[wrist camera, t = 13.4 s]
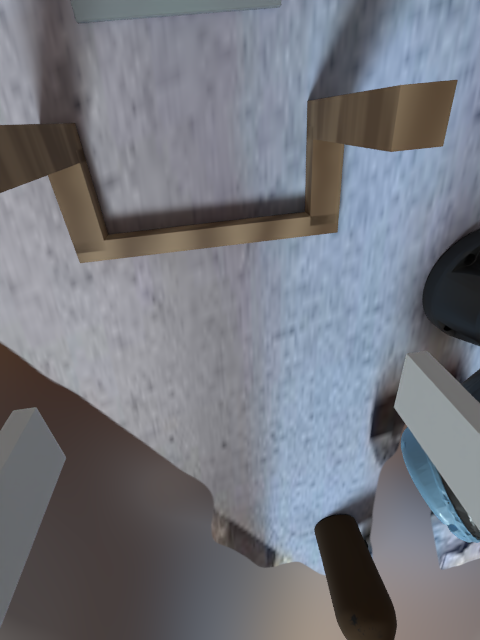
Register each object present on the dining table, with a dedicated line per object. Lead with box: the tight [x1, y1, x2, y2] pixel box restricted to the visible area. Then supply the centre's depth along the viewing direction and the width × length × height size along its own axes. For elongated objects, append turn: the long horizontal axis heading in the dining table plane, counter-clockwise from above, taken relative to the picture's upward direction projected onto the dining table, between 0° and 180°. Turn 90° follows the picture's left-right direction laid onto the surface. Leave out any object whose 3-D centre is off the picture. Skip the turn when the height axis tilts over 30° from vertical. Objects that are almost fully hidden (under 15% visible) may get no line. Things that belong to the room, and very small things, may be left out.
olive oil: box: [315, 515, 397, 640], centre depth 62 cm, size 11×11×25 cm
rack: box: [0, 80, 457, 263], centre depth 26 cm, size 27×12×16 cm, turn 95°
